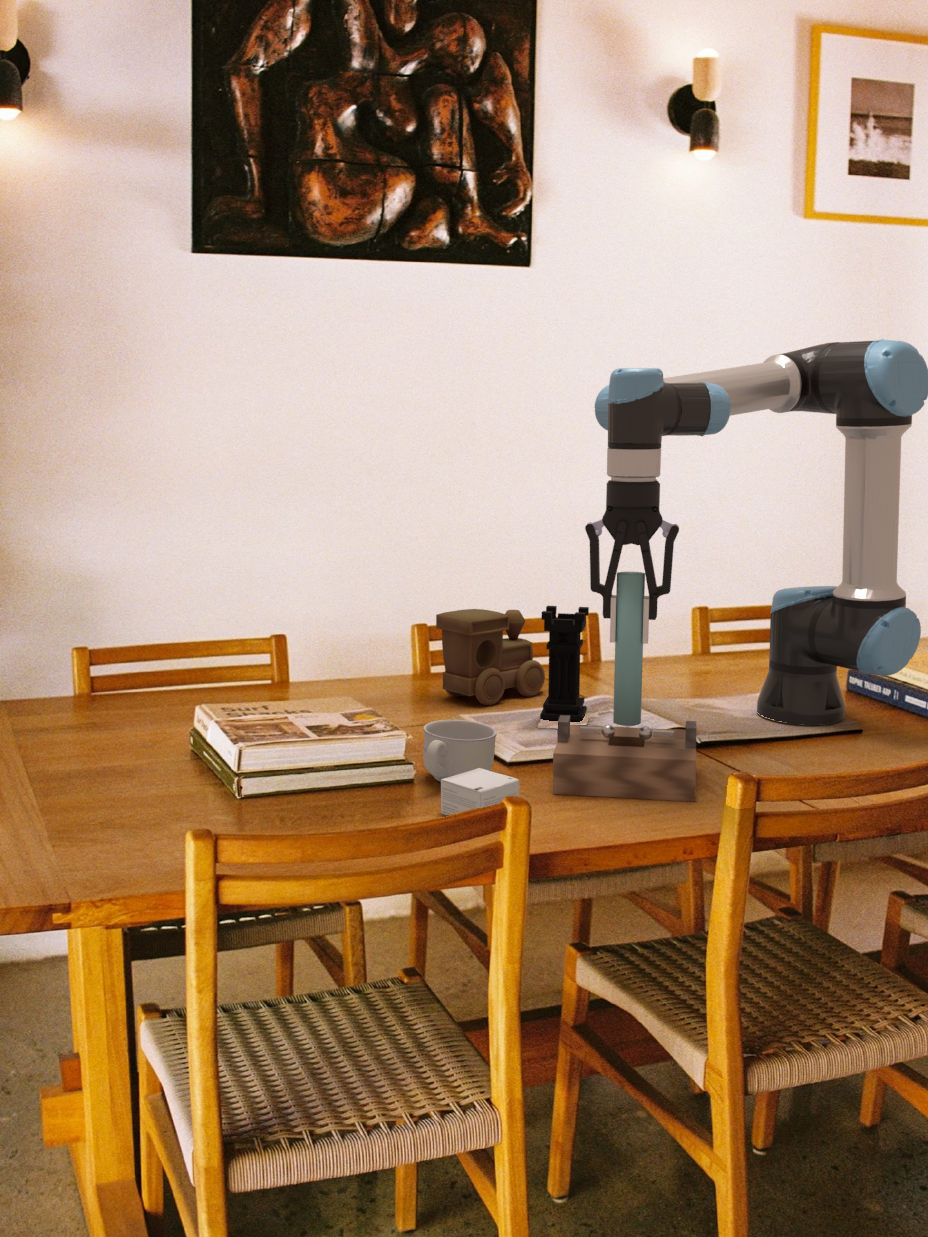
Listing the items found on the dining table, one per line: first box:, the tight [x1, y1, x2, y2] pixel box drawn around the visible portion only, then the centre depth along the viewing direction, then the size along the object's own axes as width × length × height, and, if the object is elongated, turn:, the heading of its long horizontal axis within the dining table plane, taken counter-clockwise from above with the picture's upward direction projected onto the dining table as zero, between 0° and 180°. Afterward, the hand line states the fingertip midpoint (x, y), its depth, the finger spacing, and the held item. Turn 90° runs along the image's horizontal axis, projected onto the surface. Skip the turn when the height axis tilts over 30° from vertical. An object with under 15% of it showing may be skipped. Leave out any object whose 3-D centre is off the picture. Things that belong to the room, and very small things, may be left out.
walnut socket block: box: [552, 715, 698, 803], centre depth 184 cm, size 20×16×9 cm
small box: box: [440, 768, 520, 816], centre depth 170 cm, size 8×8×5 cm
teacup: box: [422, 719, 498, 783], centre depth 184 cm, size 14×11×8 cm
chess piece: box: [539, 605, 590, 722], centre depth 215 cm, size 8×8×20 cm
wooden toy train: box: [435, 608, 546, 706], centre depth 234 cm, size 20×11×17 cm, turn 131°
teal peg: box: [612, 571, 646, 727], centre depth 181 cm, size 4×4×22 cm
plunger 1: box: [580, 724, 615, 738], centre depth 184 cm, size 5×2×2 cm, turn 80°
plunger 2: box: [638, 725, 674, 740], centre depth 183 cm, size 5×2×2 cm, turn 80°
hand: (629, 640), depth 181 cm, fingers closed on teal peg, 4 cm apart
